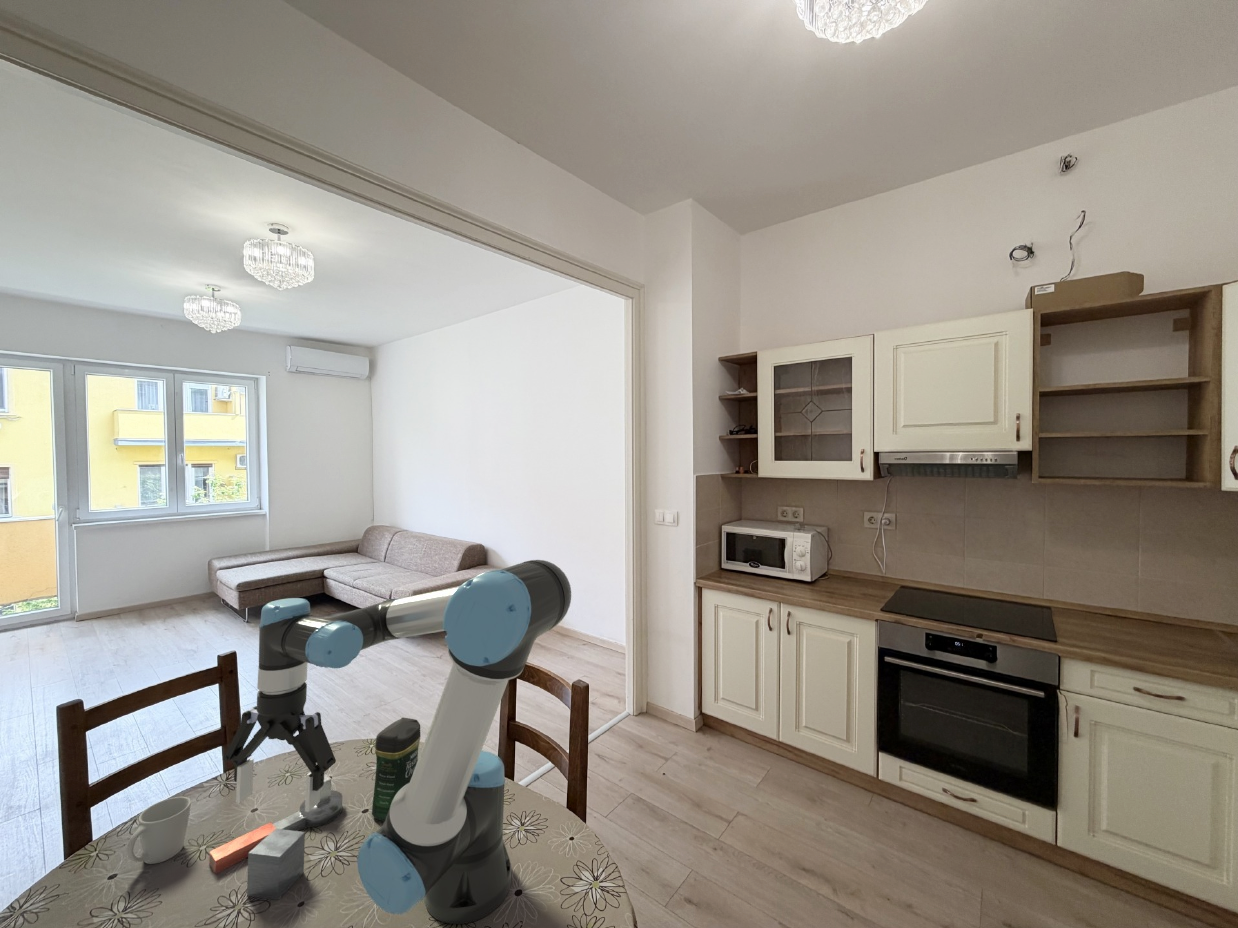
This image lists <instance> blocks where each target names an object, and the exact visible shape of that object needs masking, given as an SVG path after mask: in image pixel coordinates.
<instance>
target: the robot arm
mask: <svg viewBox="0 0 1238 928" xmlns="http://www.w3.org/2000/svg"><path fill="white" fill-rule="evenodd" d="M571 601H572V588H571V584H570V581H569V578H568V577H567V575H566V574H565V572H564V571H563V570H562V569H561V568H560V567H558V566H557V565H556V564H555V563H552V562H551V561H548V560H544V559H531V560H526V561H523V562H520V563H517V564H515V565H514V564H513V565H511V566H507V567H504V568H501V569H495V570H489V571H485V572H483V573H480V574H478V575H476V576H474V577H472V578H470V579H468V580H467V581H465V582H464V583H462V584H461V585H458V586H454V587H453V586H452V587H449V588H443V589H439V590H435V591H429V592H424V593H421V594H416V595H415V594H414V595H411V596H406V597H396V598H389V599H386V600H383V601H382V602H378V603H375V604H371V605H369V606H366V607H365V606H364V607H362V608H357V609H355V610H350V611H347V612H344V613H340V614H338V615H334V616H330V617H321V616H316V615H312V614H311V612H312V611H311V603H310V601H308V599H306V598H300V597H295V598H294V597H292V598H291V597H290V598H289V597H288V598H282V599H276V600H273V601H269V602H268V603H266V604H265V605H263V607H262V609H261V615H260V623H259V625H258V628H259V633H258V635H259V637H258V669H257V684H256V685H257V686H256V687H257V690H258V691H257V695H256V705H255V706H253V707H251V708H250V709H248V710H246V711H244V712H242V714H241V719H240V725H239V727H238V729H237V730H236V731H235V734H234V736H233V737H232V740H231V742H230V743H229V746H228V748H227V750H226V751H225V754H224V756H223V760H224V761H225V762H229V761H230V762H232V765H233V766H234V773H233V774H234V775H233V780H234V782H235V783H236V790H235V791H236V793H235V803H236V804H241V803H242V802H244V801H245V800H246V799H248V798H249V797H250V796H251V795H253V785H254V784H253V783H254V782H253V780H254V762H255V761H254V759H255V758H251V757H252V756H253V754H254V752H255V751H256V750H257V749H258V747H259V746H261V744H262V743H263V742H264V741H265V740H266V739H267V738H268V740H275V739H277V740H278V741H286V742H287V744H288V745H290V746H293V748H294V750H295V751H296V752H297V754H298V755H299V757H300V758H301V761H303V763H304V764H305V766H306V767H307V769H308V770H309V772H308V773H307V774H306V777H305V800H304V801H305V811H306V812H309V811H310V810H311V809H313V808H314V807H315V806H316V805H317V804H318V803H319V802H320V788H321V787H322V786H323V784H324V775H325V772H326V771H328V770H329V769H330V768H331V767H332V766H334V765H335V764H336V760H337V759H336V756H335V755H334V752H333V750H332V747H331V744H330V743H329V739H328V736H327V735H326V732H325V729H324V727H323V725H322V715H321V713H320V712H319V711H316V712H315V713H313V714H306V713H305V709H304V708H305V705H306V702H307V695H308V694H307V693H308V691H307V689H308V688H307V687H308V685H307V680H308V664H310V665H314V666H316V667H320V668H326V669H327V668H329V669H341V668H345V667H346V666H349V665H350V664H351V663H352V662H353V661H354V659H356V658H357V657H358V656H359V655H360V652H361V651H363V650H366V649H368V648H370V647H374V646H375V645H378V644H381V643H385V642H389V641H393V640H399V639H403V638H410V637H414V636H421V635H427V634H432V633H441V632H444V631H445V632H446V635H445V637H444V640H445V643H446V645H447V654H448V657H449V659H450V660H451V661H452V665H451V668H450V672H449V674H448V677H447V679H446V682H445V684H444V687H443V690H442V693H441V695H440V698H439V701H438V704H437V707H436V709H435V712H434V715H433V717H432V721H431V723H430V726H429V728H428V732H427V733H426V737H425V739H424V742H423V746H422V748H421V751H420V753H419V755H418V761H417V764H416V767H415V769H414V772H413V775H412V778H411V780H410V783H408V784H406V785H405V786H403V787H402V788H401V789H400V790H399V791H398V792H397V794H396V795H395V797H394V799H393V801H392V803H391V806H390V809H389V811H388V814H387V817H386V819H385V821H383V824H382V825H381V826H380V827H379V829H377V830H376V831H375V832H372V833H371V834H370V835H368V837H367V838H366V840H364V841H363V843H362V844H361V846H360V847H359V850H358V853H357V870H358V871H357V872H358V875H359V878H360V881H361V883H362V886H363V888H364V890H365V892H366V893H367V895H368V897H369V898H370V899H371V900H372V902H374V904H375V905H376V906H377V907H378V908H380V909H381V910H383V911H385V912H386V913H389V914H393V915H403V914H405V913H407V912H409V911H411V910H412V908H414V907H415V906H416V905H417V904H418V903H419V902H421V901H422V900H424V906H425V907H426V910H427V912H428V913H429V915H431V917H433V918H434V919H436V920H437V921H440V922H442V923H445V924H451V925H452V924H453V925H463V924H468V923H472V922H475V921H478V920H481V919H482V918H483V919H484V917H487V916H488V915H490V914H491V913H493V912H494V911H496V909H497V908H498V907H500V905H501V904H502V903H503V902H504V900H505V899H506V898H507V897H508V896H507V895H508V894H509V892H510V888H511V884H512V863H511V859H510V856H509V854H508V850H507V847H506V844H505V841H504V837H503V835H504V832H503V831H504V807H505V803H504V802H505V784H506V778H505V765H504V763H503V760H502V759H501V758H500V757H499V756H498V755H496V754H495V753H492V752H490V751H487V750H482V749H483V747H484V745H485V743H486V740H487V737H488V734H489V733H490V731H491V730H490V729H491V727H492V724H493V722H494V719H495V716H496V714H497V711H498V708H499V706H500V704H501V700H502V698H503V696H504V694H505V690H506V687H507V684H508V682H509V681H510V680H513V679H515V678H517V677H519V676H520V675H521V674H522V672H523V670H524V668H525V666H526V664H527V662H528V659H529V656H530V653H531V651H532V649H533V647H534V644H535V642H536V640H537V638H539V637H540V636H542V635H543V634H545V633H547V632H548V631H550V630H552V629H553V628H555V627H557V625H559V624H560V623H561V622H562V620H563V619H564V618H565V617H566V615H567V613H568V611H569V608H570V606H571ZM257 722H258V724H259V726H260V728H259V730H257V732H256V733H254V735H253V737H252V738H251V739H250V741H249V742H247V741H248V739H249V737H250V735H251V733H252V731H253V730H254V727H255V725H256V724H257ZM297 732H298V734H297ZM295 734H297V735H295ZM246 743H247V744H246Z"/></svg>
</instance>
